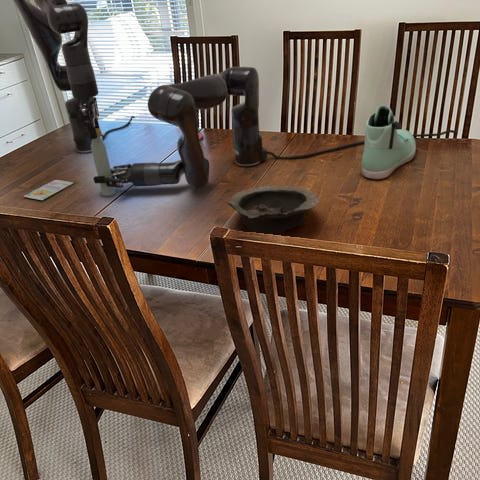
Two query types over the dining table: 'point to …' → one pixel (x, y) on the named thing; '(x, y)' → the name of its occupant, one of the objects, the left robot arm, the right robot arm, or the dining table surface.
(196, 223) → the dining table surface
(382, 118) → the sneaker
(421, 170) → the dining table surface
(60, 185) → the baking ingredient package
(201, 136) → the candy cane
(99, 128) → the cap
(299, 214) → the stone bowl
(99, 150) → the bottle
